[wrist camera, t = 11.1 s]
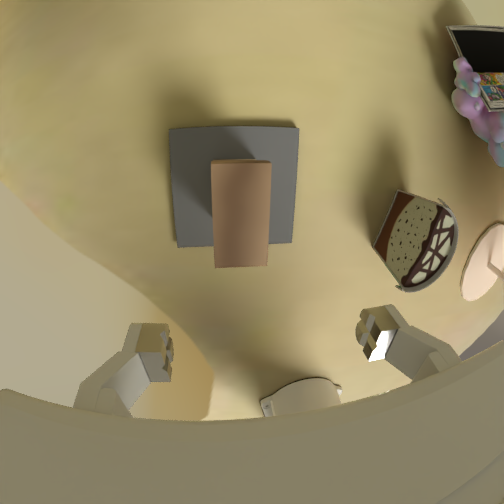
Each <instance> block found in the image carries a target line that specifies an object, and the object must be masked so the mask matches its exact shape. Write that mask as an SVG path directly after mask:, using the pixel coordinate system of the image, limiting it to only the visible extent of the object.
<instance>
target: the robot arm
mask: <svg viewBox="0 0 504 504" xmlns="http://www.w3.org/2000/svg"><path fill="white" fill-rule="evenodd" d="M360 318H361V320H360V321H359V322H358V323H357V326H356V338H357V341H358V343H359V344H360V345H362V346H364V348H363V352H364V354H365V356H366V357H367V359H368V361H373V360H377V359H382V358H384V359H385V360H386V361H388V362H389V363H390V364H392V365H393V366H394V367H396V368H397V369H398V370H400V371H401V372H402V373H404V374H405V375H406V376H408V377H409V378H410V379H412V381H411V383H410V384H408V385H405V386H402V387H399V388H396V389H393V390H390V391H387V392H384V393H380V394H377V395H374V396H370V397H367V398H363V399H359V400H356V401H352V402H348V403H344V404H341V401H340V398H339V395H340V394H341V393H342V387H340V386H335V385H334V384H333V383H332V382H331V381H329V380H327V379H322V378H312V379H305V380H301V381H298V382H294V383H292V384H289V385H287V386H285V387H283V388H282V389H280V390H279V391H277V392H276V393H275V394H273V395H272V396H269V397H267V398H264V399H262V400H261V401H260V403H261V406H262V409H263V412H264V415H265V417H261V418H250V419H236V420H214V421H178V420H156V419H144V418H133V416H132V415H131V413H130V412H129V409H130V408H131V406H132V405H133V404H134V403H135V402H136V400H137V399H138V398H139V397H140V395H141V394H142V393H143V392H144V391H145V389H146V388H147V387H148V385H149V384H150V382H170V381H171V374H172V367H171V364H170V363H171V362H172V361H173V355H174V353H173V342H172V339H171V338H170V337H169V332H170V330H169V326H168V324H155V323H132V324H131V325H130V327H129V330H128V333H127V336H126V339H125V343H124V346H123V349H122V352H117V353H116V354H115V355H114V356H113V357H111V358H110V359H109V360H108V361H107V362H105V363H104V364H103V365H102V366H101V367H100V368H98V369H97V370H96V371H95V372H94V373H92V374H91V375H90V376H89V377H88V378H86V379H85V380H84V381H83V382H82V383H81V384H80V387H79V390H78V393H77V396H76V399H75V402H74V406H73V408H72V407H67V406H63V405H58V404H55V403H51V402H47V401H44V400H40V399H37V398H33V397H30V396H27V395H24V394H21V393H18V392H15V391H13V390H9V389H2V390H0V504H504V340H502V341H500V342H498V343H496V344H495V345H493V346H491V347H489V348H488V349H486V350H484V351H482V352H480V353H479V354H476V355H475V356H473V357H471V358H469V359H467V360H465V361H463V362H462V360H461V359H460V358H459V356H458V355H457V354H456V352H455V351H454V350H453V348H452V347H451V346H450V345H449V344H447V343H445V342H443V341H441V340H439V339H437V338H435V337H433V336H431V335H430V334H428V333H426V332H424V331H422V330H420V329H418V328H416V327H414V326H409V325H408V323H407V322H406V321H405V319H404V318H403V317H402V315H401V314H400V313H399V312H398V310H397V309H396V308H395V306H394V305H392V304H390V305H384V306H379V307H373V308H367V309H363V310H362V311H361V314H360Z"/></svg>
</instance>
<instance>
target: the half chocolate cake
mask: <svg viewBox="0 0 504 504" xmlns="http://www.w3.org/2000/svg"><path fill="white" fill-rule="evenodd" d="M438 199H439V198H438ZM439 200H440V201H441V202H442V203H443V205H441V204H439V203H436V202H433V201H431V200H428V199H425V198H422V197H420V196H417V195H414V194H411V193H408V192H405V191H402V190H399V189H397V192H396V194H395V197H394V199H393V201H392V204H391V206H390V209H389V211H388V213H387V216H386V218H385V220H384V222H383V225H382V227H381V229H380V231H379V234H378V236H377V238H376V240H375V242H374V244H373V246H372V248H373V249H374V251H375V252H376V253H377V254H378V256H379V257H380V258H381V260H382V261H383V262H384V264H385V265H386V267H387V268H388V269H389V271H390V272H391V273H392V275H393V276H394V278H395V279H396V280H397V282H398V283H399V285H400V286H398V285H396V286H395V287H397V288H398V289H400V290H401V291H405V292H416V291H420V290H422V289H424V288H426V287H428V286H429V285H431V284H432V283H433V282H435V281H436V280H437V279H438V278H439V277H440V276H441V275H442V273H443V272H444V271H445V269H446V268H447V267H448V265H449V263H450V262H451V260H452V257H453V255H454V253H455V250H456V246H457V242H458V223H457V220H456V217H455V215H454V214H453V212H452V210H451V209H450V208H449V207H448V206H447V205H446V204H445V203H444V202H443V201H442V200H441V199H439Z"/></svg>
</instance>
